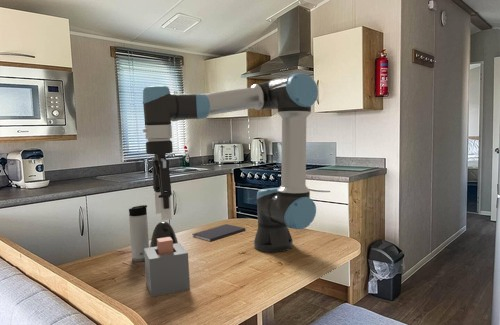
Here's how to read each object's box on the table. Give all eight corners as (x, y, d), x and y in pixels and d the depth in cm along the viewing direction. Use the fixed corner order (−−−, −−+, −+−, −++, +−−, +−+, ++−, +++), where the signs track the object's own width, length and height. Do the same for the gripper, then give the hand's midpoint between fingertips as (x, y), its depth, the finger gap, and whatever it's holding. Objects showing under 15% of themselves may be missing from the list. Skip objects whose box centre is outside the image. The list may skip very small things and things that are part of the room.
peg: (171, 268, 116) (170, 236, 115) (174, 272, 112) (172, 240, 111) (158, 270, 114) (156, 238, 113) (161, 275, 110) (159, 242, 109)
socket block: (181, 276, 120) (179, 242, 119) (189, 289, 110) (187, 252, 109) (146, 283, 116) (144, 248, 115) (151, 297, 106) (149, 259, 105)
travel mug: (145, 262, 135) (142, 207, 133) (128, 261, 136) (125, 207, 135) (153, 256, 141) (150, 203, 139) (137, 255, 142) (133, 203, 141)
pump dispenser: (154, 271, 125) (151, 227, 124) (147, 262, 134) (145, 220, 133) (184, 265, 130) (181, 222, 129) (175, 257, 139) (173, 216, 138)
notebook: (210, 242, 157) (245, 231, 173) (210, 239, 157) (245, 227, 173) (191, 237, 166) (226, 227, 181) (191, 234, 166) (226, 224, 181)
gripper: (140, 140, 118) (145, 210, 120) (151, 141, 98) (156, 226, 100) (165, 139, 121) (168, 208, 123) (179, 140, 101) (184, 222, 103)
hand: (163, 216), depth 111 cm, fingers open, 9 cm apart
